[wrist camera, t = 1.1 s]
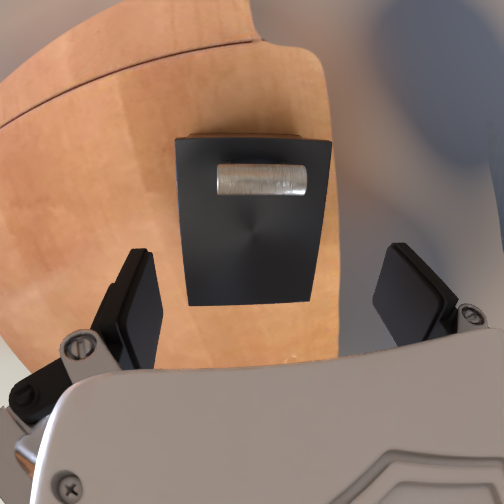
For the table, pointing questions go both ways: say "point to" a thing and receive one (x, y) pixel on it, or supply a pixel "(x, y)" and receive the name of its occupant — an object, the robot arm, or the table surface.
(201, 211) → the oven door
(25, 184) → the table surface
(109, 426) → the robot arm
